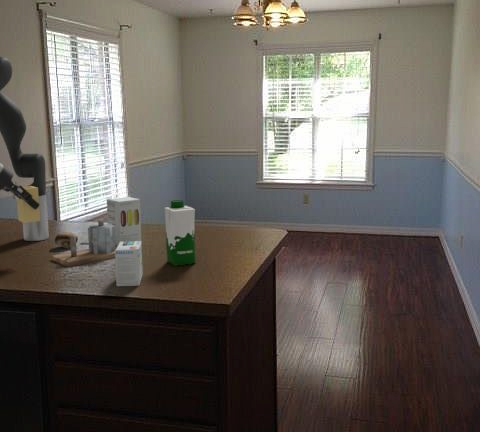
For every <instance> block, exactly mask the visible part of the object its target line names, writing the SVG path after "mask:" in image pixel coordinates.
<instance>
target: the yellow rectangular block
mask: <svg viewBox="0 0 480 432" xmlns="http://www.w3.org/2000/svg"><path fill="white" fill-rule="evenodd" d="M22 187H23V188H24V189H25V190H26V191H27V192H28V193H30V194H31V195H32V196H33V197H32V198H33V199H34V200H35V201H36V202H37V203H39V196H38V188H37V187H33V186H29V185H27V187H26V186H22ZM18 196H19V195H18ZM25 198H27V195H26V196H25ZM16 205H17V206H16V207H17V219H18V221H19V222H21V223H22V224H23V223H28V222H35V221H40V209H39V207H38V208H37V209H33V208H32V207H31V206H30V205H29V204H27V203H25V202H24V201H23V200H22V199H18V198H17V200H16Z"/></svg>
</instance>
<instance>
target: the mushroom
mask: <svg viewBox="0 0 480 432" xmlns="http://www.w3.org/2000/svg"><path fill="white" fill-rule="evenodd" d="M71 235H75V234H74V233H72V232H68V231H67V232H60V233H58V234H57V235H56V236H55V237H54V244H55V245H56V246H58V247H62V248H64V249H71V245H70V236H71ZM78 240H79V238H78V236H77V235H76V244H77V243H78Z"/></svg>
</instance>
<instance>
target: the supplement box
mask: <svg viewBox="0 0 480 432" xmlns="http://www.w3.org/2000/svg"><path fill="white" fill-rule="evenodd" d="M106 213H107V215H106V217H107V223H109V224H112V225H114V229H115V246H116V247H117V246H118V244H119V242H128V241H141V242H142V222H141V221H142V220H141V219H142V218H141V216H142V215H141V214H142V213H141V199H140V198H136V197H135V198H134V197H131V196H130V197H129V196H125V197H116V198H114V197H113V198H107V199H106Z"/></svg>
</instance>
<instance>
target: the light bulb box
mask: <svg viewBox="0 0 480 432" xmlns="http://www.w3.org/2000/svg"><path fill="white" fill-rule="evenodd" d="M115 249H116V250H115V258H114V259H115V260H114V261H115V263H114V264H115V278H116V279H115V280H116V287H135V286H136V287H137V286H138V287H139V286H140V284H141V280H142V278H143V257H142V256H143V252H142V250H143V249H142V240H141V241H128V242H119V244H118V246H117V245H116V247H115Z"/></svg>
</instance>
